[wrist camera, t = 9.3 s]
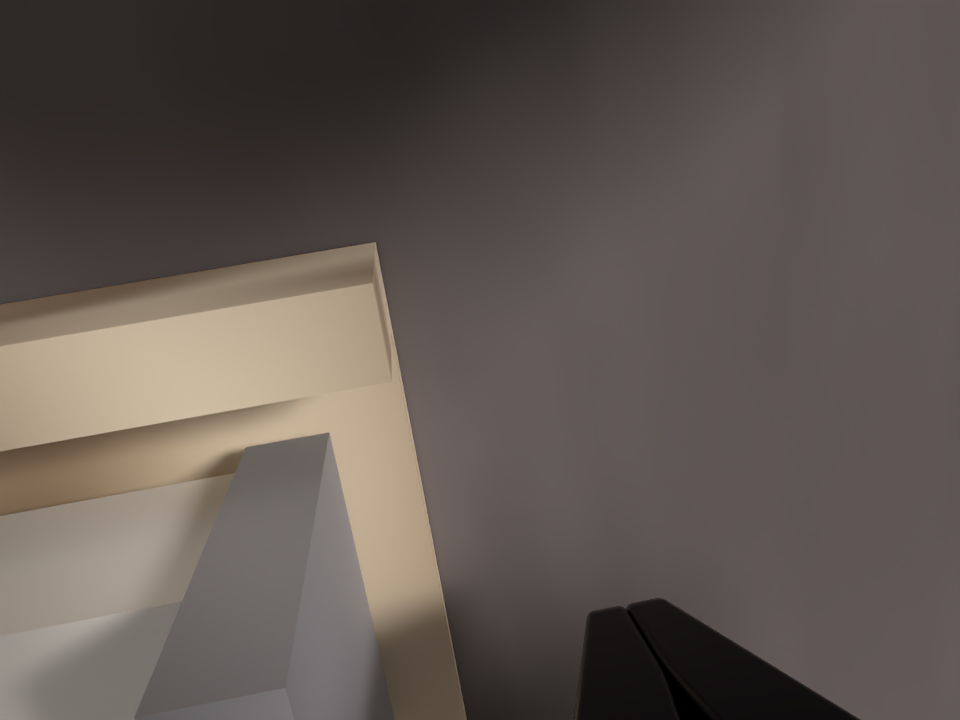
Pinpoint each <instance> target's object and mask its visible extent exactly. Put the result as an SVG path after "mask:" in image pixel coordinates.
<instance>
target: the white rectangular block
mask: <svg viewBox="0 0 960 720" xmlns="http://www.w3.org/2000/svg"><path fill="white" fill-rule="evenodd" d="M0 720H395V719H394V714H393V710H392V706H391V701H390V697H389V692H388V688H387V684H386V679H385V675H384V670H383V666H382V662H381V657H380V653H379V648H378V644H377V640H376V635H375V631H374V626H373V622H372V618H371V613H370V609H369V604H368V600H367V596H366V591H365V587H364V582H363V578H362V574H361V569H360V565H359V560H358V556H357V552H356V547H355V543H354V538H353V534H352V530H351V525H350V521H349V516H348V512H347V508H346V503H345V499H344V494H343V490H342V485H341V481H340V477H339V472H338V468H337V463H336V459H335V455H334V450H333V446H332V441H331V437H330V433H329V432H328V433H322V434H317V435H311V436H306V437H300V438H295V439H289V440H284V441H278V442H273V443H267V444H262V445H256V446H251V447H245V450H244V452H243V455H242V457H241V459H240V462H239V464H238V467H237V469H236V472H235V473H233V474H227V475H222V476H216V477H211V478H205V479H200V480H194V481H189V482H183V483H178V484H173V485H167V486H162V487H156V488H151V489H145V490H140V491H134V492H129V493H123V494H118V495H112V496H107V497H101V498H96V499H91V500H85V501H80V502H74V503H69V504H63V505H58V506H52V507H47V508H41V509H36V510H30V511H25V512H19V513H14V514H8V515H3V516H0Z"/></svg>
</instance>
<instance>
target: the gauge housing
mask: <svg viewBox="0 0 960 720" xmlns="http://www.w3.org/2000/svg"><path fill="white" fill-rule="evenodd" d="M328 432H329V433H330V437H331V441H332V446H333V450H334V455H335V459H336V463H337V468H338V472H339V477H340V481H341V485H342V490H343V494H344V499H345V503H346V508H347V512H348V516H349V521H350V525H351V530H352V534H353V538H354V543H355V547H356V552H357V556H358V560H359V565H360V569H361V574H362V578H363V582H364V587H365V591H366V596H367V600H368V604H369V609H370V613H371V618H372V622H373V626H374V631H375V635H376V640H377V644H378V648H379V653H380V657H381V662H382V666H383V670H384V675H385V679H386V684H387V688H388V692H389V697H390V701H391V706H392V710H393V714H394V719H395V720H467V718H466V713H465V708H464V702H463V697H462V692H461V687H460V681H459V676H458V671H457V666H456V660H455V655H454V650H453V645H452V640H451V634H450V629H449V624H448V619H447V613H446V608H445V603H444V598H443V592H442V587H441V582H440V577H439V571H438V566H437V561H436V556H435V551H434V545H433V540H432V535H431V530H430V524H429V519H428V514H427V509H426V503H425V498H424V493H423V488H422V482H421V477H420V472H419V467H418V462H417V456H416V451H415V446H414V441H413V435H412V430H411V425H410V420H409V414H408V409H407V404H406V399H405V393H404V388H403V383H402V378H401V373H400V367H399V362H398V357H397V352H396V346H395V341H394V336H393V331H392V325H391V320H390V315H389V310H388V304H387V299H386V294H385V289H384V284H383V278H382V273H381V268H380V263H379V257H378V252H377V247H376V242H373V243H367V244H361V245H355V246H349V247H343V248H337V249H331V250H325V251H319V252H313V253H307V254H301V255H295V256H289V257H283V258H277V259H271V260H265V261H259V262H253V263H247V264H241V265H235V266H229V267H223V268H217V269H211V270H205V271H199V272H193V273H187V274H181V275H175V276H169V277H163V278H157V279H151V280H145V281H139V282H133V283H127V284H121V285H115V286H109V287H103V288H97V289H91V290H85V291H79V292H73V293H67V294H61V295H55V296H49V297H43V298H37V299H31V300H25V301H19V302H13V303H7V304H1V305H0V516H3V515H8V514H14V513H19V512H25V511H30V510H36V509H41V508H47V507H52V506H58V505H63V504H69V503H74V502H80V501H85V500H91V499H96V498H101V497H107V496H112V495H118V494H123V493H129V492H134V491H140V490H145V489H151V488H156V487H162V486H167V485H173V484H178V483H183V482H189V481H194V480H200V479H205V478H211V477H216V476H222V475H227V474H233V473H235V472H236V469H237V467H238V464H239V462H240V459H241V457H242V455H243V452H244V450H245V447H251V446H256V445H262V444H267V443H273V442H278V441H284V440H289V439H295V438H300V437H306V436H311V435H317V434H322V433H328Z"/></svg>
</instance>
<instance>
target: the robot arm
mask: <svg viewBox="0 0 960 720" xmlns="http://www.w3.org/2000/svg"><path fill="white" fill-rule="evenodd" d="M574 720H860V719H858V718H857V717H855V716H854V715H852V714H850V713H849V712H847V711H845V710H844V709H842V708H841V707H839V706H837V705H836V704H834V703H832V702H831V701H829V700H828V699H826V698H824V697H823V696H821V695H819V694H818V693H816V692H815V691H813V690H811V689H810V688H808V687H806V686H805V685H803V684H802V683H800V682H798V681H797V680H795V679H793V678H792V677H790V676H789V675H787V674H785V673H784V672H782V671H780V670H779V669H777V668H775V667H774V666H772V665H771V664H769V663H767V662H766V661H764V660H762V659H761V658H759V657H758V656H756V655H754V654H753V653H751V652H749V651H748V650H746V649H745V648H743V647H741V646H740V645H738V644H736V643H735V642H733V641H732V640H730V639H728V638H727V637H725V636H723V635H722V634H720V633H719V632H717V631H715V630H714V629H712V628H710V627H709V626H707V625H706V624H704V623H702V622H701V621H699V620H697V619H696V618H694V617H693V616H691V615H689V614H688V613H686V612H684V611H683V610H681V609H679V608H678V607H676V606H675V605H673V604H671V603H670V602H668V601H666V600H664V599H661V598H656V599H651V600H646V601H641V602H636V603H631V604H629V605H628V606H627V608H626V609H625V608H624V607H621V606H616V607H611V608H606V609H601V610H595V611H592V612H590V613H589V614H588V616H587V622H586V629H585V637H584V644H583V652H582V659H581V667H580V674H579V682H578V690H577V697H576V705H575V712H574Z"/></svg>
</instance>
